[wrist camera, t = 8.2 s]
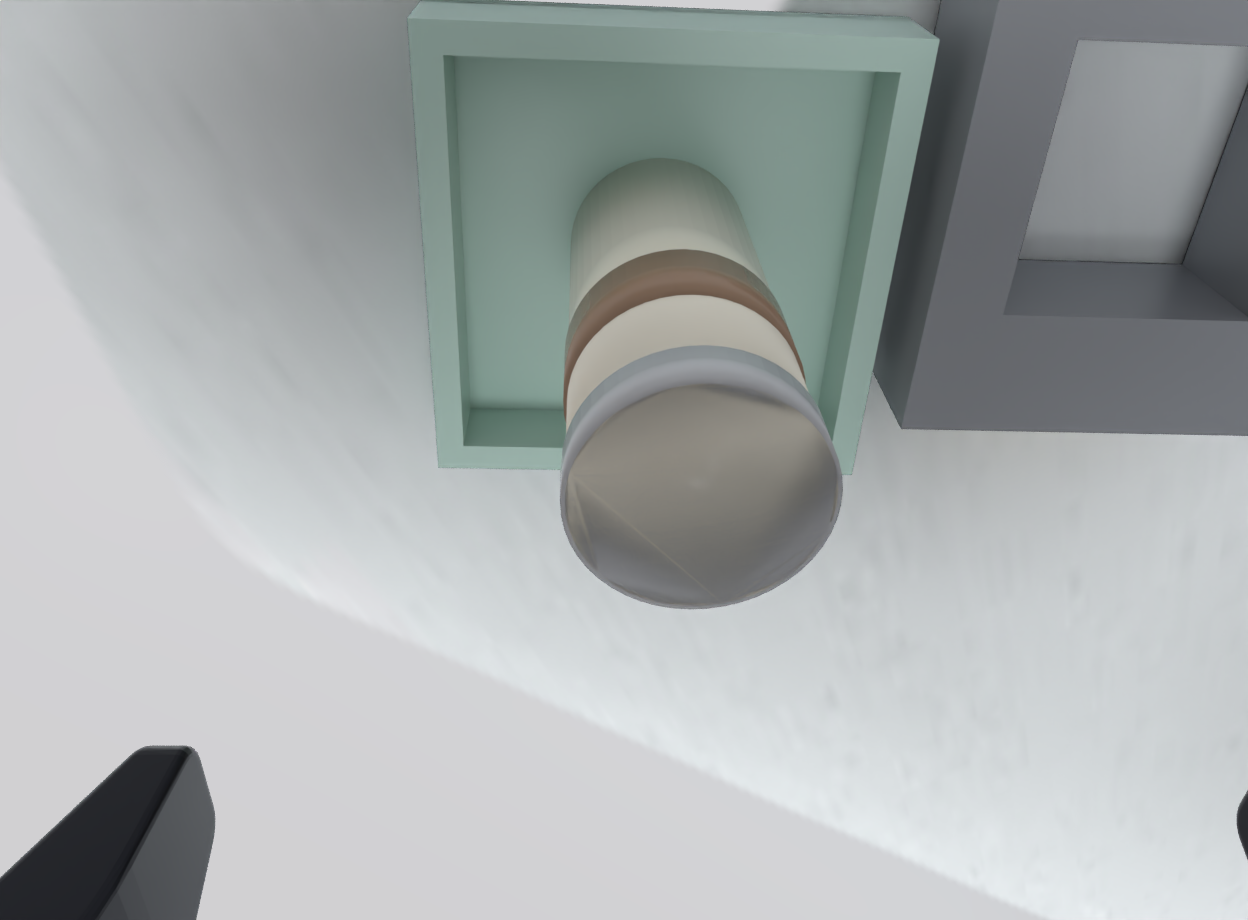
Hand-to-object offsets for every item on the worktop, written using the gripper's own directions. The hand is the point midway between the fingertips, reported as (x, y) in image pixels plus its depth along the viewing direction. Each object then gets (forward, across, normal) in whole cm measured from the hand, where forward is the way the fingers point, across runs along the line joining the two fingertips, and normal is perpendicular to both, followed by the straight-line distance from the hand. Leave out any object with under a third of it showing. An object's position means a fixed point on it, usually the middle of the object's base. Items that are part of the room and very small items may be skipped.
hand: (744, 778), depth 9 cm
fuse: (+12, 0, 0) cm, 12 cm away
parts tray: (+12, 0, 0) cm, 12 cm away
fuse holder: (+12, -8, -2) cm, 15 cm away
